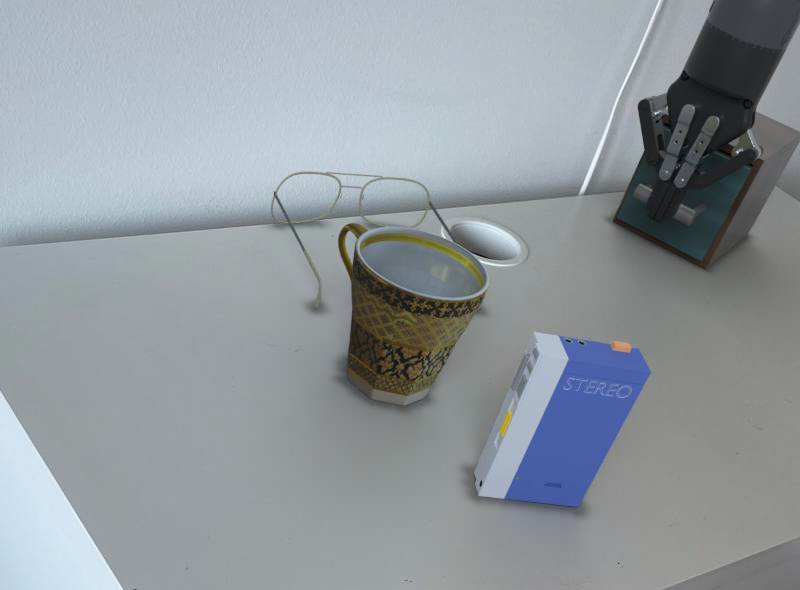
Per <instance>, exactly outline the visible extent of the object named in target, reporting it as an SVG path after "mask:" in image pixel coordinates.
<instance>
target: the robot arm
mask: <svg viewBox="0 0 800 590" xmlns="http://www.w3.org/2000/svg"><path fill="white" fill-rule="evenodd" d="M799 26H800V0H712V2H711V5H710V8H709V10H708V13H707V17H706V19H705V20H704V23H703V24H702V27H701V29H700V31H699V33H698V36H697V38H696V40H695V42H694V44H693V47H692V48H691V51H690V54H689V56H688V58H687V60H686V62H685V63H684V66H683V69H682V71H681V73H680V75H679V76H678V77H677V79H675V80H674V81H673V82H672V83H671V84H670V85H669V87H668V89H667V90H666V92H665V93H664V92H663V93H661V94H657V95H651V96H647V97H644V98H643V99H641V100H640V101H639V102H638V104H637V113H638V119H639V125H640V131H641V138H642V144H643V149H644V150H643V152H644V151H645V157H646V162H647V164H648V165H649V166H653V167H654V168H655V170H656V171H657V172H658V180H657V182H656V184H655V186H654V188H653V190H652V193H651V195H650V197H649V199H648V201H647V203H646V210H648V211H649V213H648V215H647V217H648V218H650V219H652V220H654V221H655V222H657V223H659V224H660V223H662V222H663V221H665V220H668V219H670V218H671V217H673V216H674V215H675V214H676V212H677V210H678V208H679V206H680V204H681V202H682V200H683V198H684V196H685V194H686V192H687V190H688V189H689V188H696V189H699V190H701V189H703V188H705V187H707V186H709V185H711V184H713V183H715V182H716V181H718V180H720V179H722V178H724V177H726V176H728V175H729V174H731V173H733V172H735V171H737V170H739V169H741V168H742V167H744V166H746V165H748V164H750V163H752V162H753V161H755V160H757V159H758V158H760V157H761V156H762V155H763V152H764V150H763V147H762V146H761V145H757V143H756V141H755V138H754V136H753V133H752V130H751V128H752V127H753V125H754V123H755V113H756V112H757V107H758V105H759V103H760V101H761V99H762V97H763V95H764V93H765V92H766V90H767V88H768V86H769V84H770V82H771V80H772V78H773V76H774V75H775V72H776V70H777V68H778V67H779V65H780V63H781V61H782V59H783V58H784V55H785V53H786V51H787V50H788V47H789V45H790V44H791V41H792V40H793V38H794V36H795V34H796V32H797V31H798V28H799ZM667 109H668V115H669V123H670V131H671V134H672V138H671V140H670V143H669V145H668V148H667V150H666V144H665V137H664V131H663V124H662V118H663V117H664V116H665V114H666V110H667ZM738 137H739V142H738V144H737V145H736V146H735V147H734V148H733V149H732V151H731V155H732V158H731V159H729V160H727V161H725V162H723V163H722V164H720V165H718V166H716V167H714V168H713V169H711V170H709V171H707V172H699V170H700V169H701V167H702V165H703V164H704V162H705V161H706V160H707V159H708V157H709V155H710V154H711V153H712V152H715V151H717V150H719V149H720V148H722V147H724V146H725V145H727V144H729V143H730V142H732V141H733V140H735V139H737V138H738ZM690 147H692V148H691V150H690V151H689V149H690ZM688 151H689V153H688V155H687V157H686V158H685V156H686V154H687V152H688ZM684 159H685V162H684V164H683V166H682V163H683V161H684ZM681 166H682V167H681ZM680 168H681V169H680Z"/></svg>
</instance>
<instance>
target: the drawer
mask: <svg viewBox="0 0 800 590" xmlns="http://www.w3.org/2000/svg"><path fill="white" fill-rule="evenodd" d="M663 131H664V137H665V144H666V150H667V148H668V145H669V143H670V140H671V138H672V134H671V131H670V127H669V126H666V125H664V124H663ZM691 148H692V147H690V149H689V151H690V150H691ZM689 151H688V152H687V154H686V156H685V158H686V157H687V155H688V153H689ZM731 158H732V155H731V154H729V153H727V152H725V151H723V150H720V149H719V150H717V151H715V152H712V153H711V154H710V155H709V157H708V159H707V160H706V161H705V162H704V164H703V165H702V167H701V169H700V170H699V172H707V171H709V170H711V169H713V168H714V167H716V166H718V165H720V164H722V163H723V162H725V161H727V160H729V159H731ZM684 162H685V159H684V161H683V163H682V166H683V164H684ZM682 166H681V167H682ZM752 166H753V165H752V164H748V165H746V166H744V167H742V168H741V169H739V170H737V171H735V172H733V173H731V174H729V175H728V176H726V177H724V178H722V179H720V180H718V181H716V182H715V183H713V184H711V185H709V186H707V187H705V188H703V189H701V190H699V189H696V188H689V189H688V190H687V192H686V194H685V196H684V198H683V200H682V202H681V204H680V206H679V208H678V210H677V212H676V214H675V215H674V216H673V217H671V218H670V219H668V220H665V221H663V222H662V223H660V224H659V223H657V222H655V221H654V220H652V219H650V218H648V217H647V215H648V213H649V211H648V210H646V203H647V201H648V199H649V197H650V195H651V193H652V190H653V188H654V186H655V184H656V182H657V180H658V172H657V171H656V170H655V168H654V167H653V166H649V165H648V164H647V162H646V157H645V156H644V159H643V161H642V163H641V165H640V167H639V170H638V172H637V174H636V176H635V179H634V181H633V183H632V185H631V187H630V190H629V192H628V194H627V196H626V198H625V201H624V203H623V205H622V207H621V209H620V212H619V214H618V216H617V218H618V219H620V220H622V221H623V222H625V223H627V224H629V225H631V226H633V227H635V228H637V229H639V230H641V231H643V232H645V233H647V234H649V235H651V236H653V237H655V238H656V239H658V240H660V241H662V242H664V243H666V244H668V245H670V246H672V247H674V248H676V249H678V250H680V251H682V252H684V253H686V254H688V255H689V256H691V257H693V258H695V259H697V260H699V261H702V260H703V259H705V257H706V255H707V254H708V252H709V250H710V248H711V246H712V244H713V242H714V241H715V239H716V237H717V235H718V233H719V231H720V229H721V227H722V226H723V224H724V222H725V220H726V218H727V216H728V214H729V213H730V211H731V209H732V207H733V205H734V203H735V201H736V199H737V198H738V196H739V194H740V192H741V190H742V188H743V186H744V185H745V183H746V181H747V179H748V177H749V175H750V173H751V171H752V170H753V167H752ZM680 169H681V168H680Z"/></svg>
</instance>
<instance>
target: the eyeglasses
mask: <svg viewBox="0 0 800 590" xmlns="http://www.w3.org/2000/svg"><path fill="white" fill-rule="evenodd" d="M298 175H320V176H321V175H322V176H327V177H330V178H333V179H334V180H336V181H337V182H338V185H339V189H338V193H337V196H336V197H335V200H334V202H333V203H332V205H331V207H330V208H329V210H328V211H327V212H326V213H324V214H322V215H320V216H318V217H314V218H310V219H304V220H291V219H290V217H289V215H288V214H287V211H286V210H285V208H284V206H283V204H282V202H281V200H280V198H279V197H278V192H279V190H280V188H281V186H282V185H283V184H284V183H285V182H286V181H287V180H288V179H291V178H292V177H293V176H298ZM335 175H343V176H355V177H356V176H357V177H373V179H370V180H369V181H367V182H366V183H365V184H364V185H363V187H362V186H355V185H342V182H341V180H340V179H339V178H338V177H337V176H335ZM382 180H383V181H384V180H392V181H393V180H396V181H403V182H404V181H405V182H411V183H415V184H417V185H419V186H420V187H422V188H423V189H424V191H425V193H426V196H427V203H426V208H425V211H424V214H423V216H422V217H421V219H420V220H419V221H418V222H416V223H415V224H412V225H410V226H409V225H408V226H405V227H406V228H413V229H415V228H416V227H418V226H419V225H421V224H422V223H423V222H424V220H425V218H426V217H427V214H428V212H429V208H430V209H431V210H432V211H433V213H434V215H435V216H436V218H437V219H438V221H439V222H440V224H441V226H442V227H443V228H444V229H445V231H446V232H447V234H448V236H449V238H450V240H451V241H452V242H454V243H456V244H458V245H460V244H459V242H458V241H457V239H456V238H455V236H454V234H453V233H452V232H451V230H450V229H449V227H448V226H447V224H446V223H445V221H444V220H443V217H441V215H440V214H439V212H438V210H437V209H436V207H435V206H434V204H433V203H432V201H431V197H430V193H429V190H428V188H427V187H426V186H425V185H424V184H423V183H421V182H419V181H418V180H415V179H411V178H405V177H394V176H383V175H377V174H376V175H374V174H360V173H348V172H346V173H345V172H332V171H330V172H329V171H326V172H321V171H297V172H294V173H291V174H289V175H287V176H286V177H284V179H283V180H281V182H280V183H279V185H278V186H277V187H276V190H274V191H273V196H272V200H271V205H270V214H271V217H272V220H273V221H275V222H276V223H279V224H283V225H289V227H290V229H291V231H292V233H293V235H294V237H295V238H296V240H297V242H298V244H299V246H300V248H301V250H302V252H303V255H304V257H305V259H306V260H307V262H308V265H309V267H310V268H311V270H312V273H313V274H314V276H315V278H316V280H317V285H318V292H317V294H316V298H315V301H314V307H315V308H317V309H318V308H319V306H320V303H321V299H322V293H323V291H322V290H323V285H322V277H321V275H320V274H319V271H318V270H317V268H316V266H315V264H314V262H313V260H312V258H311V257H310V254H309V252H308V251H307V249H306V248H305V245H304V244H303V242H302V241H301V238H300V237H299V234H298V232H297V231H296V229H295V227H294V225H293V224H303V223H310V222H314V221H317V220H320V219H323V218H325V217H326V216H328V215H329V214H330V213H331V212H332V211H333V209H334V208H335V206H336V204H337V202H338V200H339V198H340V199H342V195H343V194H342V188H348V189H349V188H351V189H361V191H360V194H359V199H358V213H359V216H360V217H361V218H362V220H363V221H365V222H366V223H369V224H371V225H375V226H378V227H395V226H393V225H386V224H381V223H379V222H378V223H377V222H374V221H373V220H369V219H368V218H366V217H365V216H364V215H363V213H362V200H364V198H365V197H364V196H365V194H364V191H365V189H366V188H367V186H369V184H371V183H373V182H376V181H382ZM275 200H276V202H277V204H278V206H279V208H280V210H281V211H282V214H283V215H284V217H285V219H286V221H283V220H279V219H277V218H276V217H275V215H274V210H273V209H274V203H275ZM484 300H485V297H484V298H483V300H482V302H481V304H480V306H479V307H478V309H477V311H479V310H481V308H482V305H483V303H484Z"/></svg>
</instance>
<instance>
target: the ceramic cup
mask: <svg viewBox="0 0 800 590" xmlns="http://www.w3.org/2000/svg"><path fill="white" fill-rule="evenodd" d="M406 227H407V226H394V227H382V226H379V227H375V228H372V229H369V230H368V229H367V227H365V226H364V225H362V224H360V223H355V222H351V223H347V224H345V225H344V226H343V227H342V228H341V230H340V232H339V234H338V237H337V238H338V239H337V246H338V251H339V255H340V258H341V260H342V263H343V265H344V267H345V270H346V271H347V275H348V277H349V280H350V283H351V287H350V289H351V317H350V318H351V319H350V329H349V342H348V348H347V349H348V350H347V360H346V361H347V363H346V378H347V381H348V382H349V383H350V384H351V385H353V386H354V387H356V389H358V390H359V391H360V392H362V393H363V394H364V395H366V396H367V397H368V398H369V399H371V400H373V401H375V400H376V401H379V402H384V403H387V404H393V405H398V406H404V407H405V406H407V405H410V404H412V403H415V402H418V401H420V400H422V399H424V398H425V397H426V396H428V393H429V392H430V390H431V389H432V386H433V385H434V384H435V381H436V380H437V378H438V376H439V375H440V373H441V371H442V369H443V367H444V366H445V365H446V363H447V361H448V359H449V357H450V356H451V355H452V352H453V350H454V348H455V347H456V345H457V343H458V342H459V340H460V339H461V337H462V335H464V333H465V331H466V329H467V328H468V326H469V325H470V323H471V321H472V320H473V318H474V316H475V314H476V313H477V311H478V307H479V306H480V304H481V302H482V300H483V298H484V299H485V296H486V294H487V292H488V289H489V287H490V281H491V280H490V275H489V274H490V273H488V270H487V269H486V267H485V265H484V264H483V262H482V261H480V259H478V257H477V256H475V254H473V253H471V252H470V251H469V250H467V249H466V248H464V247H463V246H461V245H460V244H459V243H458V244H459V245H458V244H456V243H454V242H453V240H451V239H448V238H445V237H443V236H440V235H438V234H435V233H432V232H429V231H426V230H422V229H417V228H406ZM349 232H351V233H352V234H353V235H354V237H355V238H356V241H355V243H354V249H353V256H352V257H353V258H352V261H351V258H350V256H349V253H348V251H347V245H346V237H347V235H348V233H349ZM483 301H484V300H483Z"/></svg>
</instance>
